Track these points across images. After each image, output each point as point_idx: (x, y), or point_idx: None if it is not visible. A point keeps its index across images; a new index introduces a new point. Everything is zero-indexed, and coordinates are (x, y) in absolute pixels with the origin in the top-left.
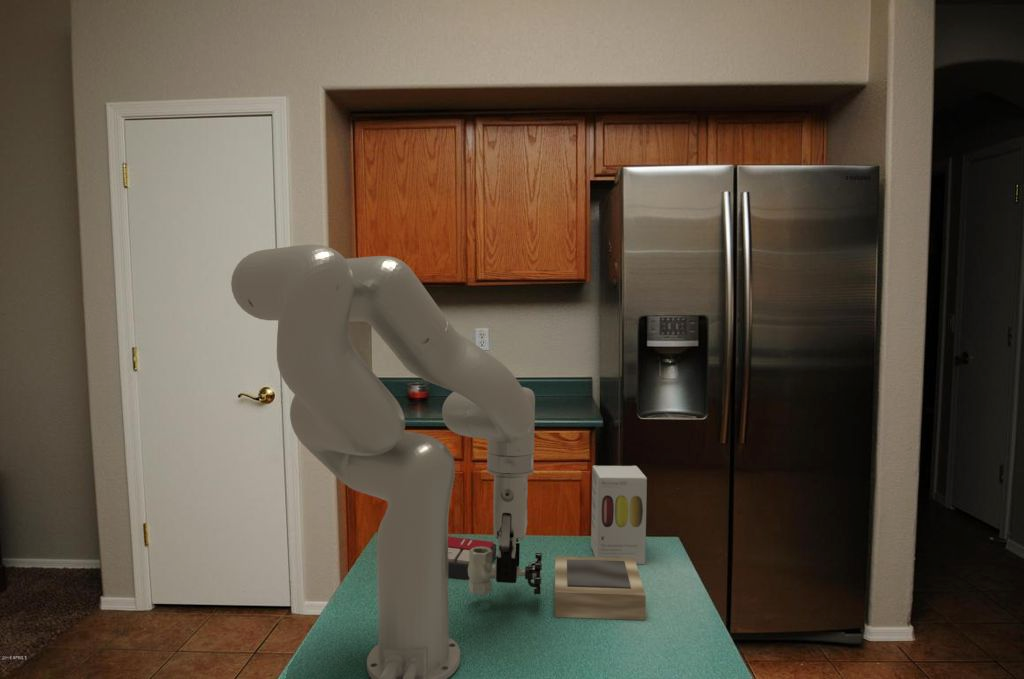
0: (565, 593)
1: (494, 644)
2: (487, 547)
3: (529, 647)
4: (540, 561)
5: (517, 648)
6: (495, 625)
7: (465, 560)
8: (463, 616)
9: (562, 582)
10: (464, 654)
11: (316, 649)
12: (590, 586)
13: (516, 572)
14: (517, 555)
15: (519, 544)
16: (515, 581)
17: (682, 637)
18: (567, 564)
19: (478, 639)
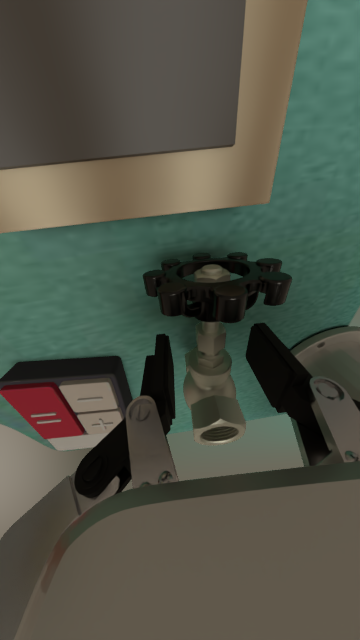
0: (277, 153)
1: (307, 300)
2: (198, 431)
3: (335, 245)
4: (240, 285)
5: (330, 265)
6: (256, 310)
7: (114, 400)
8: (228, 350)
9: (196, 176)
10: (318, 326)
11: (274, 412)
12: None
13: (277, 338)
14: (167, 360)
15: (163, 388)
16: (264, 324)
17: None
18: (27, 161)
19: (289, 321)
